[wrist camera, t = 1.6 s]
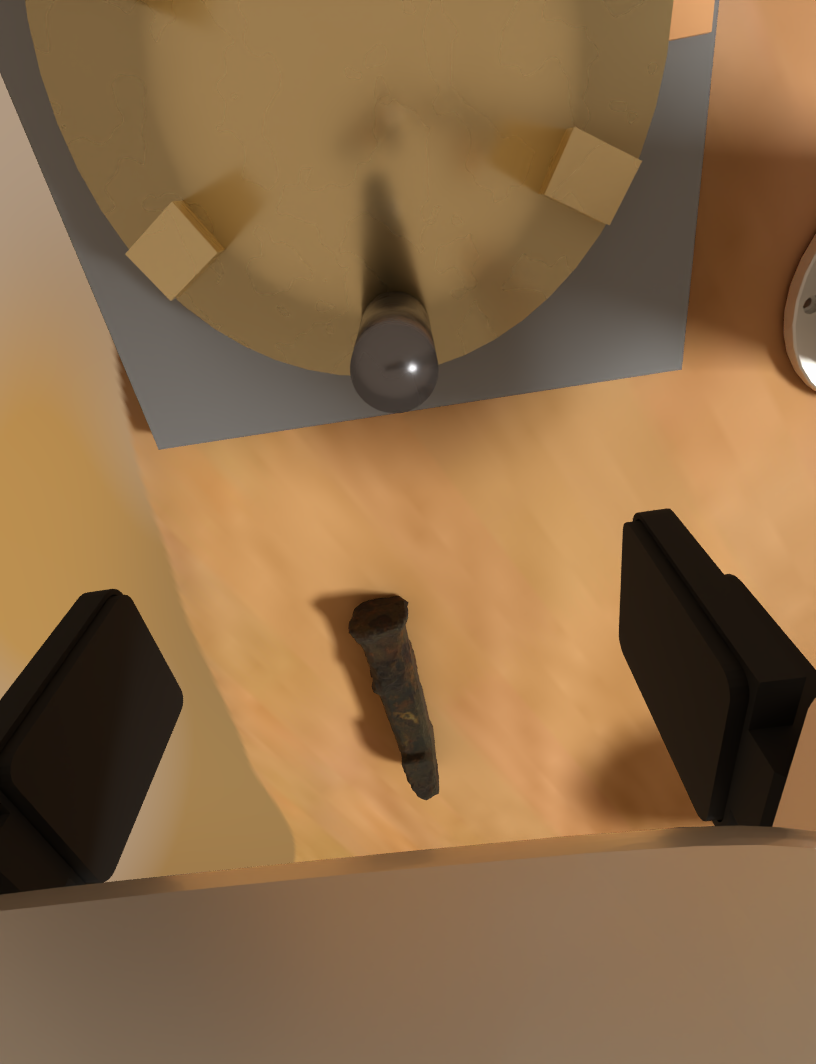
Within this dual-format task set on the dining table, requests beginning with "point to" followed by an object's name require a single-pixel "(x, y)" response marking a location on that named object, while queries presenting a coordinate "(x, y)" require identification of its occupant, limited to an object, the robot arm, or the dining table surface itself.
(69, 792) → the robot arm
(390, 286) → the beige piece
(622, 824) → the dining table surface
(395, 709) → the hand tool
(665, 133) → the base plate
